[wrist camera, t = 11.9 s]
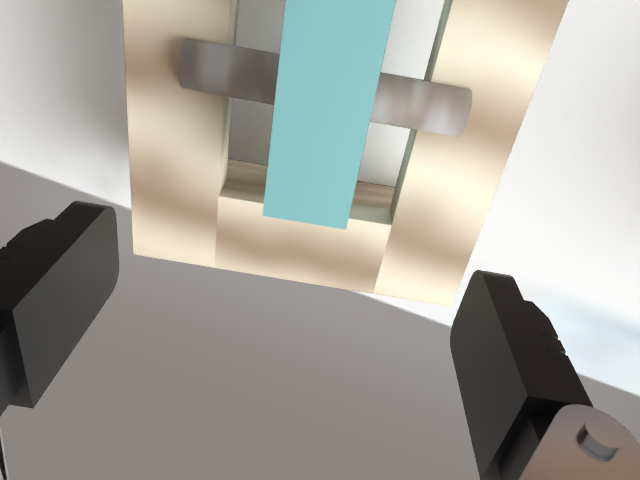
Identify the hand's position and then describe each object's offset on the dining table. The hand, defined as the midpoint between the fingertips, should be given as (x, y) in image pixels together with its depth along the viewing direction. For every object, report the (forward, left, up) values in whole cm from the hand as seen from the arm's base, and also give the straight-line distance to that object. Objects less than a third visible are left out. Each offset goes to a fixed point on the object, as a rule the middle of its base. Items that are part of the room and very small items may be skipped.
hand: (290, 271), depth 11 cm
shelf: (0, 0, -28) cm, 28 cm away
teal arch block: (0, 0, -24) cm, 24 cm away
